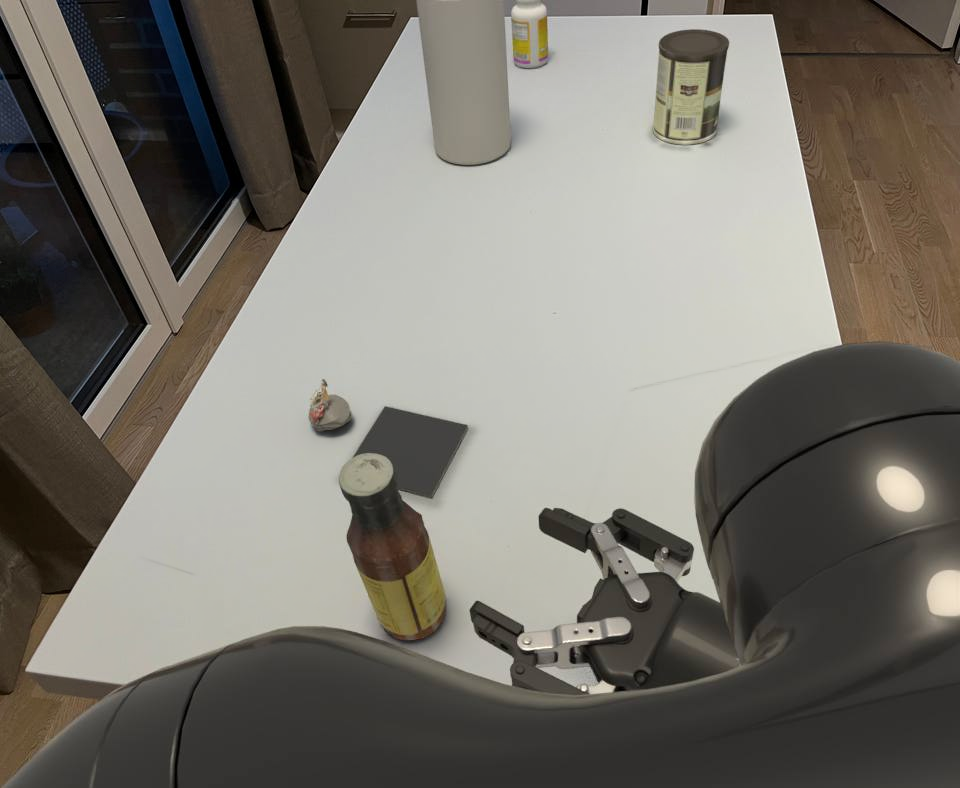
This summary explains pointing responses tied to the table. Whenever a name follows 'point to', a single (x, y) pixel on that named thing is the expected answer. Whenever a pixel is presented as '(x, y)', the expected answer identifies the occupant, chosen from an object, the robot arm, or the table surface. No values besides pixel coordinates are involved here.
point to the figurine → (328, 410)
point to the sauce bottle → (391, 550)
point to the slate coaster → (414, 447)
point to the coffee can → (689, 85)
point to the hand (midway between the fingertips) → (508, 563)
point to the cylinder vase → (466, 78)
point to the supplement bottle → (529, 33)
